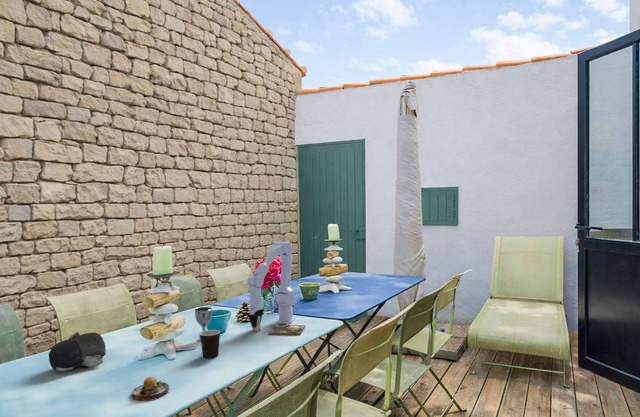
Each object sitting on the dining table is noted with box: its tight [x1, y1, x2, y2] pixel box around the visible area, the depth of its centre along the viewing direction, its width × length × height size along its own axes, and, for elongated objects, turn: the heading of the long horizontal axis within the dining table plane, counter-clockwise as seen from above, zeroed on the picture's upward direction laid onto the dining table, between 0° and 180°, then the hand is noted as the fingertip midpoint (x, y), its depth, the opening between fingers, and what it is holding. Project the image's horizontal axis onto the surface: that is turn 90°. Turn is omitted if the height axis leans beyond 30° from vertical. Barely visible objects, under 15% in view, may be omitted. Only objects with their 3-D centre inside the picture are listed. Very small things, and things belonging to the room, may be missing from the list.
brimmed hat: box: [131, 376, 170, 402], centre depth 151 cm, size 12×12×8 cm
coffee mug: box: [199, 329, 221, 360], centre depth 189 cm, size 12×9×10 cm
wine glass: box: [194, 306, 213, 343], centre depth 210 cm, size 8×8×15 cm
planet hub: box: [252, 316, 262, 333], centre depth 224 cm, size 4×4×7 cm
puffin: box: [48, 331, 106, 372], centre depth 178 cm, size 20×21×13 cm
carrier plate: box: [267, 322, 306, 336], centre depth 222 cm, size 14×16×3 cm
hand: (256, 325), depth 224 cm, fingers open, 7 cm apart
